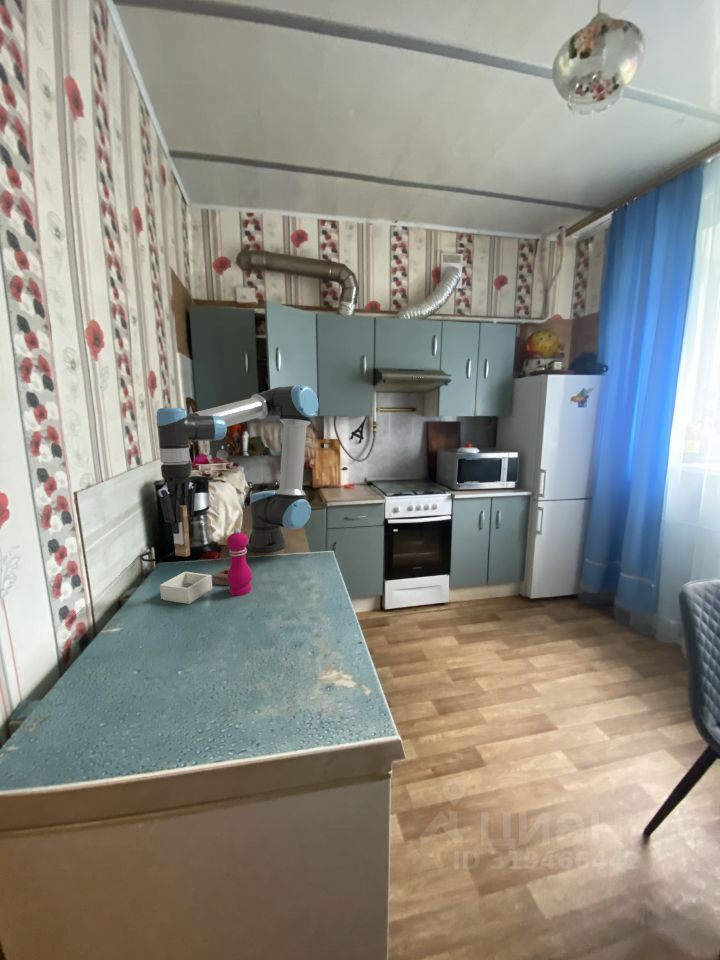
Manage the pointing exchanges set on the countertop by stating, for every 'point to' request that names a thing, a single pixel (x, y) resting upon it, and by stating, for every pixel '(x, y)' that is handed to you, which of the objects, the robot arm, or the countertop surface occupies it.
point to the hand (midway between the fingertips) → (181, 542)
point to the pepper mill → (238, 564)
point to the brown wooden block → (183, 548)
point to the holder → (221, 577)
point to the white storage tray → (186, 587)
